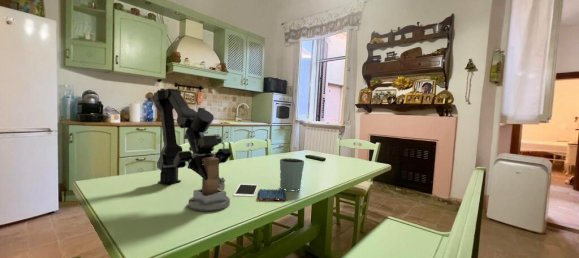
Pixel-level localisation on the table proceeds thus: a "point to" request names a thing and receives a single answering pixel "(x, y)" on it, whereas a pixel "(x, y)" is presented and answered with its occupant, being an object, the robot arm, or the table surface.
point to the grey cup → (291, 173)
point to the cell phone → (246, 190)
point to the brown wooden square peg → (210, 175)
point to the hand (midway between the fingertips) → (212, 178)
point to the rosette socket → (208, 201)
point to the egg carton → (221, 183)
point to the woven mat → (271, 194)
